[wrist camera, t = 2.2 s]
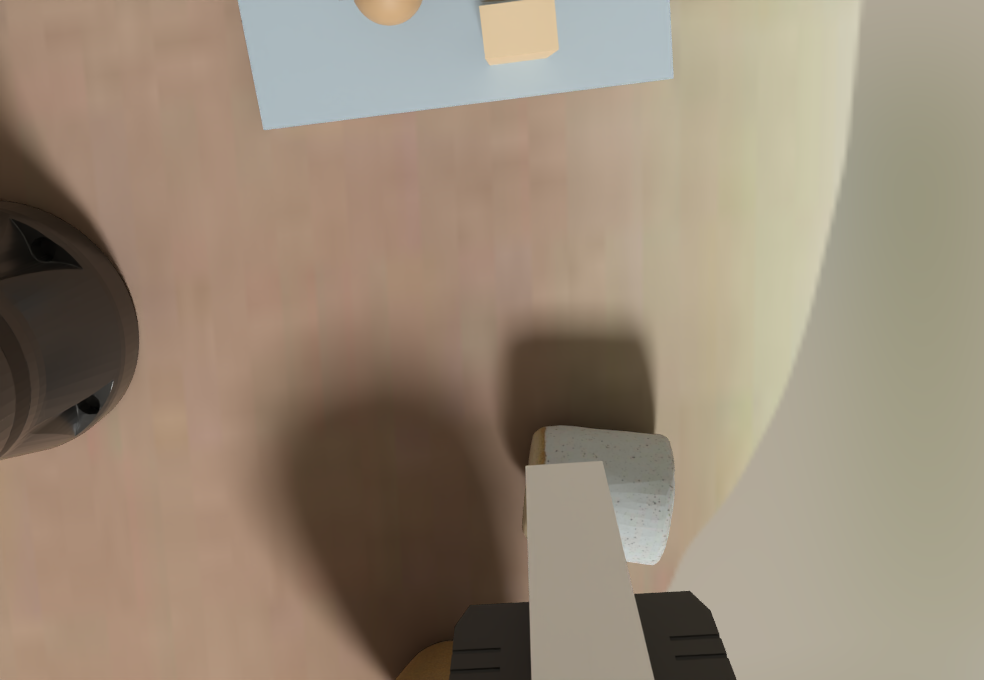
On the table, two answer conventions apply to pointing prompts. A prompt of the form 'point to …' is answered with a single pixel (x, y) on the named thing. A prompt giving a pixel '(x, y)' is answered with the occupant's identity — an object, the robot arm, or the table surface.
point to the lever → (483, 0)
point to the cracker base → (443, 52)
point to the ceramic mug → (620, 480)
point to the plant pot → (430, 663)
